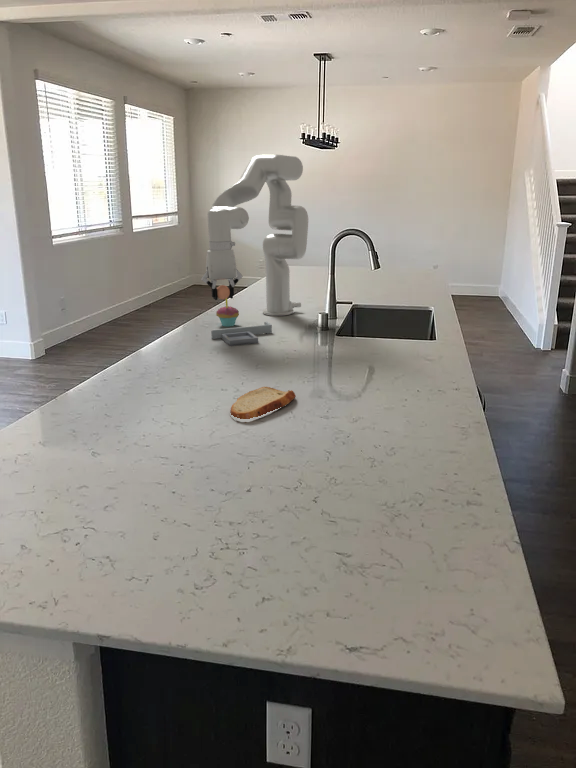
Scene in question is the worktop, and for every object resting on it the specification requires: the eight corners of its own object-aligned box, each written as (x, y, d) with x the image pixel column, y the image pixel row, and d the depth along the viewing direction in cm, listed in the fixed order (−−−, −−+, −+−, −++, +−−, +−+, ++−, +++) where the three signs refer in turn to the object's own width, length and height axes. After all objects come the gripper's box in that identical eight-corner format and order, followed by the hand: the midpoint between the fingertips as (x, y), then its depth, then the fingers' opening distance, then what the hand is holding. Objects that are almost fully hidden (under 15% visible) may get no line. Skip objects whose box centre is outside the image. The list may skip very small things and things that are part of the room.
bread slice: (234, 425, 146) (233, 410, 145) (221, 400, 163) (221, 386, 162) (309, 417, 151) (309, 402, 149) (290, 393, 167) (290, 380, 166)
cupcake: (238, 327, 238) (237, 295, 234) (215, 327, 238) (213, 295, 234) (240, 322, 246) (239, 291, 242) (218, 322, 246) (216, 291, 242)
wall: (266, 329, 234) (266, 321, 233) (271, 333, 229) (271, 324, 228) (207, 335, 227) (207, 326, 226) (212, 338, 222) (211, 330, 221)
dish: (249, 336, 225) (249, 331, 224) (258, 343, 216) (258, 337, 215) (221, 339, 221) (221, 334, 221) (229, 345, 212) (229, 340, 212)
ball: (228, 297, 229) (227, 283, 227) (232, 300, 225) (231, 285, 223) (214, 298, 227) (213, 284, 226) (218, 301, 223) (217, 287, 221)
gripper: (240, 243, 226) (243, 294, 232) (193, 246, 220) (197, 298, 226) (247, 245, 219) (249, 298, 226) (198, 249, 214) (202, 302, 220)
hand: (223, 298), depth 226 cm, fingers closed on ball, 4 cm apart
